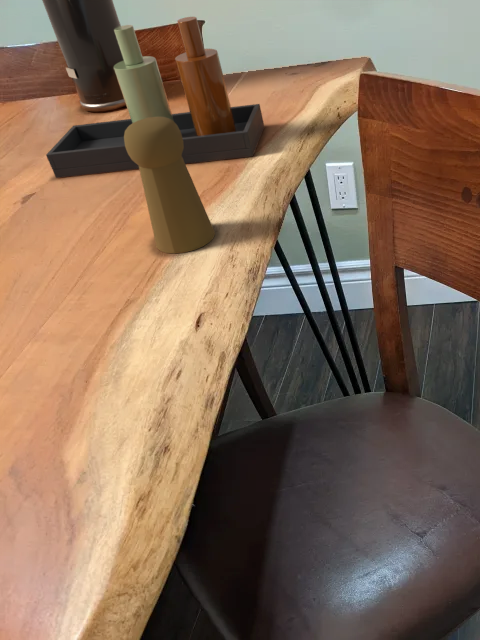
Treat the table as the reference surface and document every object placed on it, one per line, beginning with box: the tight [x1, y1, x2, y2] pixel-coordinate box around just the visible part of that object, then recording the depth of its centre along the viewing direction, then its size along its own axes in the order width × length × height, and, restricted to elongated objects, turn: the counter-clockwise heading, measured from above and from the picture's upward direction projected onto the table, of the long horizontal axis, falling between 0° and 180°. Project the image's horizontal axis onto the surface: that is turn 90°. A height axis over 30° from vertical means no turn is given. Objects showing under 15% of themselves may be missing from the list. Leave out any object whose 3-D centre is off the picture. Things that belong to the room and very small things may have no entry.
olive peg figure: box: [124, 117, 216, 254], centre depth 66 cm, size 6×6×11 cm
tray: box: [45, 103, 265, 179], centre depth 87 cm, size 25×10×3 cm, turn 89°
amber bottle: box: [174, 16, 237, 136], centre depth 82 cm, size 5×5×12 cm
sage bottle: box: [113, 24, 174, 123], centre depth 83 cm, size 5×5×12 cm
